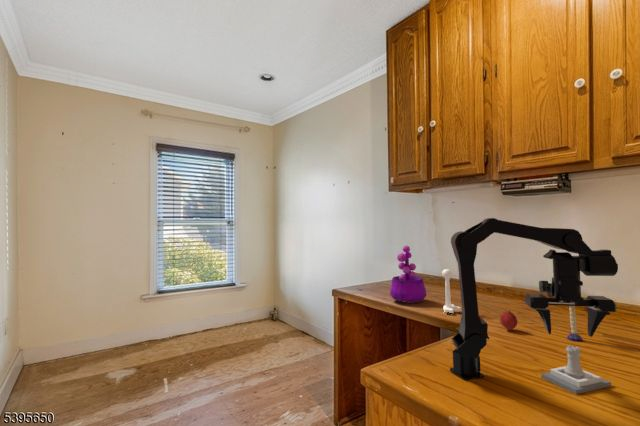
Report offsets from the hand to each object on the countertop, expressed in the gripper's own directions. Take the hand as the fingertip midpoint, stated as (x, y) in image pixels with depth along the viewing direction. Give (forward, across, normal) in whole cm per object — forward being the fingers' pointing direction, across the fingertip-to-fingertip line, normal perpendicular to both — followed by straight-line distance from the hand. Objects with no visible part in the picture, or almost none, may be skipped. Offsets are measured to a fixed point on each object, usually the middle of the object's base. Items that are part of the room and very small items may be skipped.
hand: (569, 334), depth 86 cm
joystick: (+12, +23, -63) cm, 68 cm away
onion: (+12, +5, -40) cm, 42 cm away
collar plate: (+12, -1, 0) cm, 12 cm away
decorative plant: (+12, +44, -79) cm, 91 cm away
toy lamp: (+12, -14, -34) cm, 39 cm away
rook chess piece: (+11, 0, 0) cm, 11 cm away
